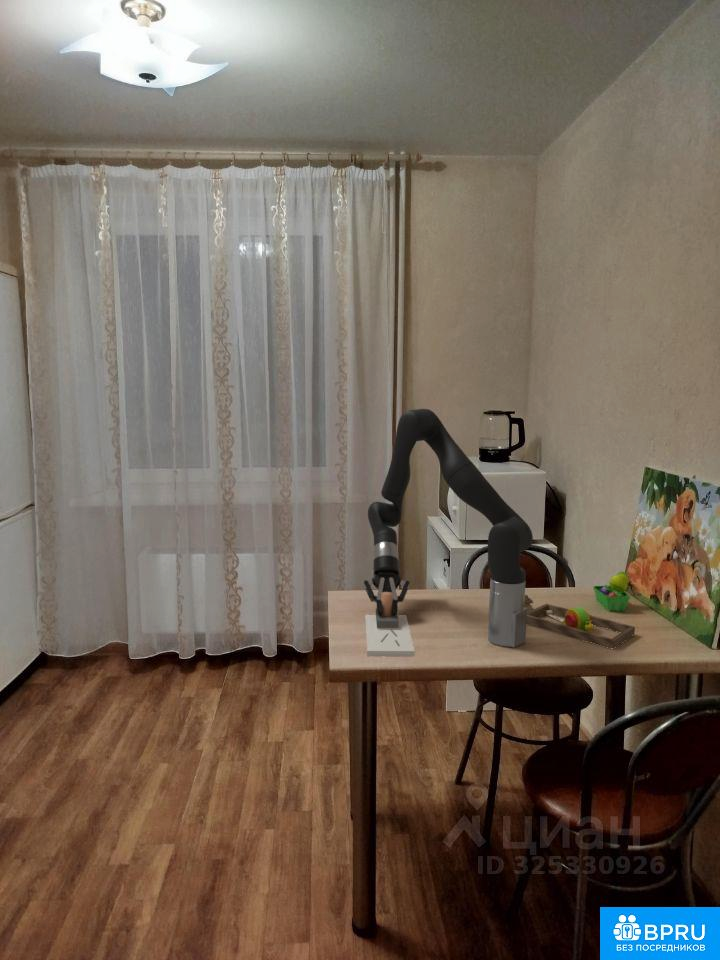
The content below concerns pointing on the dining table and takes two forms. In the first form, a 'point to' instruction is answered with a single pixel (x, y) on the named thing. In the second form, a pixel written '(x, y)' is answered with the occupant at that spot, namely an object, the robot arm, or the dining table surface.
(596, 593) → the fruit basket
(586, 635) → the wooden tray
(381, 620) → the sanding block
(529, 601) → the wooden fragment
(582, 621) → the toy snail
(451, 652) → the dining table surface
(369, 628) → the marked board
